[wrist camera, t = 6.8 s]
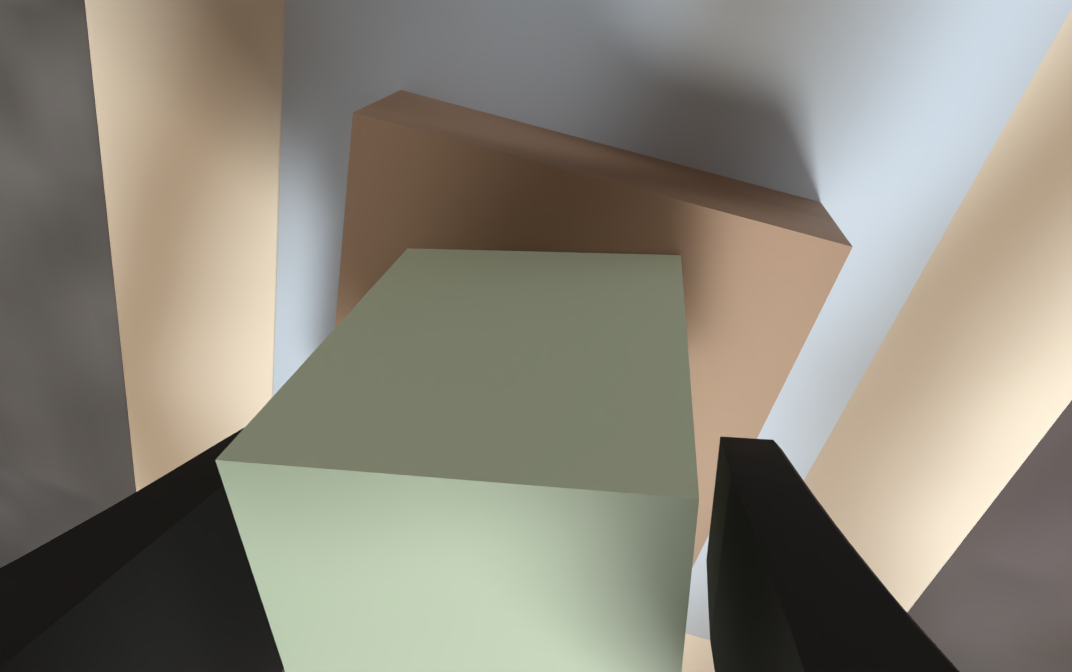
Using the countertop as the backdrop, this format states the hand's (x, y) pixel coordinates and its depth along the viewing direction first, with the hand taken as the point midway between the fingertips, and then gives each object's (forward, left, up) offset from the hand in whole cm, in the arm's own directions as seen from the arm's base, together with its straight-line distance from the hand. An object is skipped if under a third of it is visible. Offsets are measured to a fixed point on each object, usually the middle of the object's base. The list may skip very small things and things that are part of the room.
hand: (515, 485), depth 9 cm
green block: (0, 0, -2) cm, 2 cm away
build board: (0, 0, -5) cm, 5 cm away
